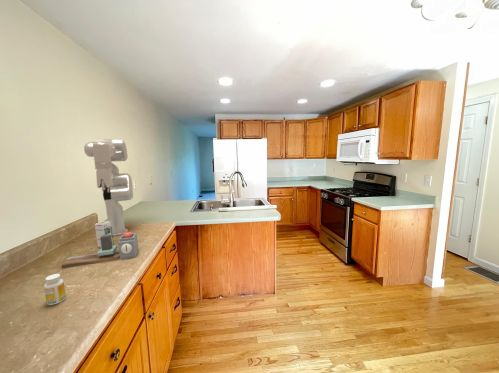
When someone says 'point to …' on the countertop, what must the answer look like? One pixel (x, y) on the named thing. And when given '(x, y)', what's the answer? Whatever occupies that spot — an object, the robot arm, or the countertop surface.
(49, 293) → the supplement bottle
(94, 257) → the rail bed
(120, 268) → the countertop surface
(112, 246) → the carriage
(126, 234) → the button
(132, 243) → the cabinet
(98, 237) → the syrup box
